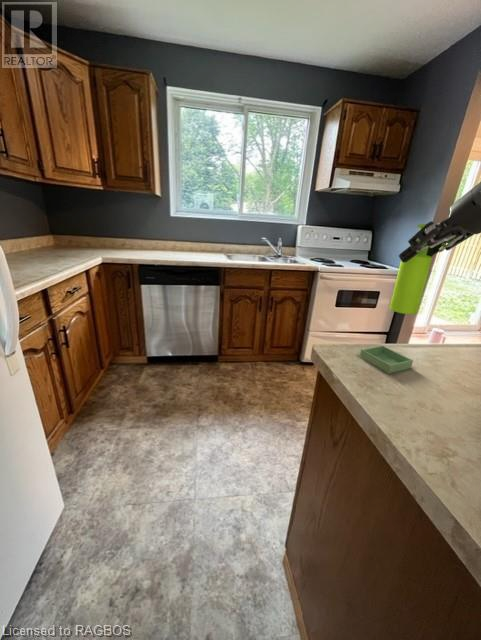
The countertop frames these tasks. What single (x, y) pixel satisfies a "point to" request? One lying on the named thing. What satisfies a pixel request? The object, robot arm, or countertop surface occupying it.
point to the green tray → (386, 359)
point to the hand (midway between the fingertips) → (411, 258)
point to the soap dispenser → (411, 282)
